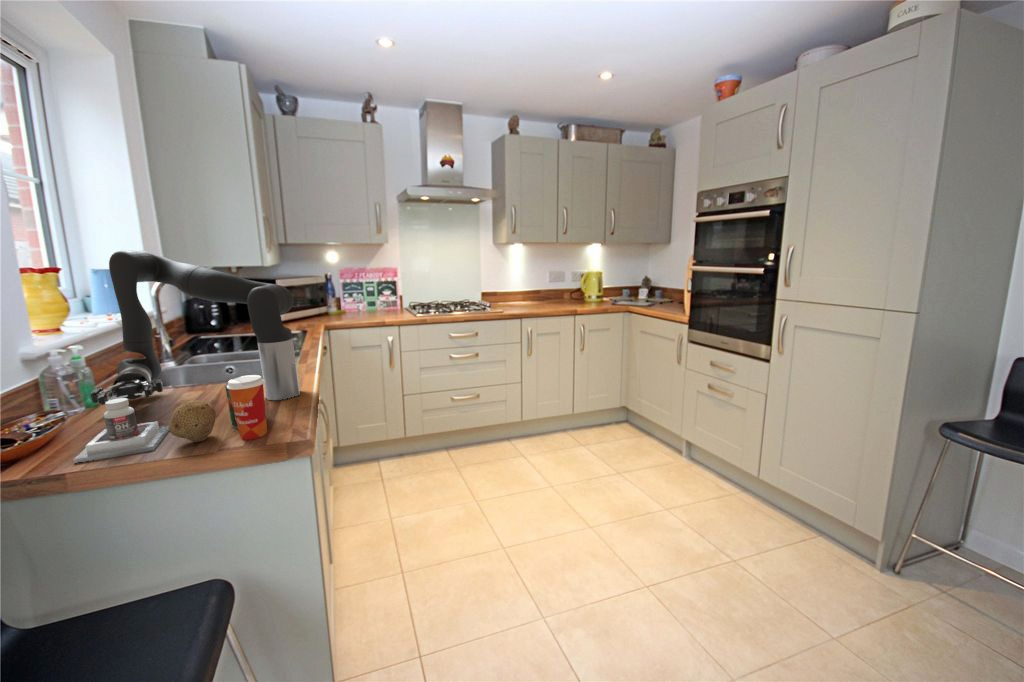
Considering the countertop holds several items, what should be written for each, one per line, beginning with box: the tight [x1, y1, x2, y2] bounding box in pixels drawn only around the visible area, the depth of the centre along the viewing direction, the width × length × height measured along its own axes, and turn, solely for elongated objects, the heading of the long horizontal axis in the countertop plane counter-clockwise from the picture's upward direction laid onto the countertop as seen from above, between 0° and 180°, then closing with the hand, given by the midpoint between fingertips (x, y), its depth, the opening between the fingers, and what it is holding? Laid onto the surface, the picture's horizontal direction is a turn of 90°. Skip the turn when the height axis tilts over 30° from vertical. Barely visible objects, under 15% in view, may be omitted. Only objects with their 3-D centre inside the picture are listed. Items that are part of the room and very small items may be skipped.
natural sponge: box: [168, 399, 217, 443], centre depth 106 cm, size 9×9×10 cm
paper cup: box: [227, 374, 268, 441], centre depth 109 cm, size 8×8×14 cm
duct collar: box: [72, 420, 170, 464], centre depth 107 cm, size 14×14×3 cm
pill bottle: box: [103, 398, 139, 440], centre depth 106 cm, size 5×5×10 cm
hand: (125, 397), depth 114 cm, fingers open, 8 cm apart
